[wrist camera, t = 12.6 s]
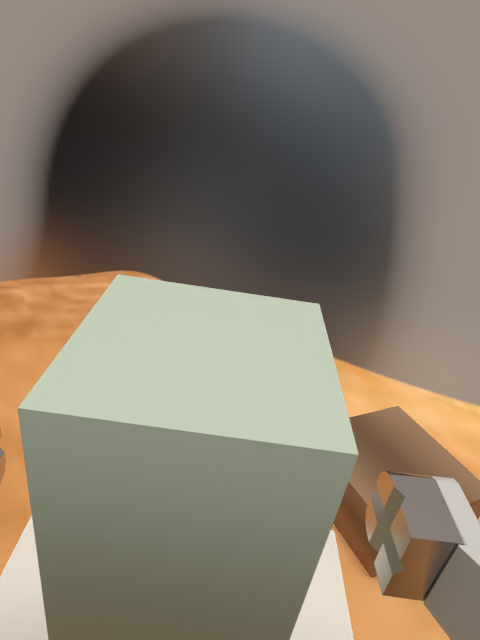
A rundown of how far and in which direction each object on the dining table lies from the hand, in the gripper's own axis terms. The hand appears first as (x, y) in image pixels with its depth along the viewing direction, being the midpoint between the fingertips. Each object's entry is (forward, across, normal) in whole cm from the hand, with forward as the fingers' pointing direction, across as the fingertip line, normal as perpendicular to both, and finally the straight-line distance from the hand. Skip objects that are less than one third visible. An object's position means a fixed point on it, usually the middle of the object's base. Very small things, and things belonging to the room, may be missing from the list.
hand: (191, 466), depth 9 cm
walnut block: (+8, -9, +10) cm, 16 cm away
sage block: (-1, 0, +8) cm, 8 cm away
